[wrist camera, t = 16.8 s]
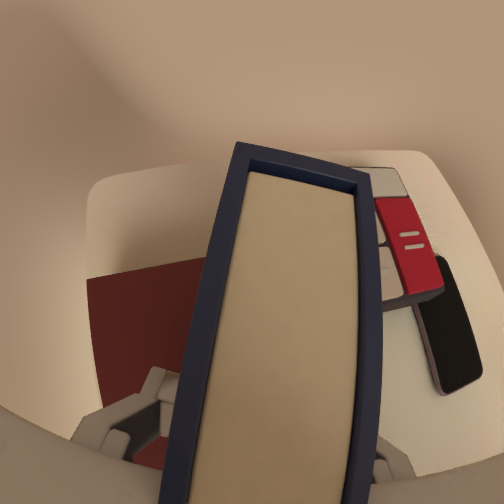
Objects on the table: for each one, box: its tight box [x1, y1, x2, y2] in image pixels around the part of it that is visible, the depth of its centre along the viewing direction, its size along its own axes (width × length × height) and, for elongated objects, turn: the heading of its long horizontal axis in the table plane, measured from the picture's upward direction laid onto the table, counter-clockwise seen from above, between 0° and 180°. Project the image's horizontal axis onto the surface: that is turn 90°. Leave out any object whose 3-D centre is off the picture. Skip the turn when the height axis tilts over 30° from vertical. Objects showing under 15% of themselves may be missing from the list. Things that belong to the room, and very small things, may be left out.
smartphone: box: [413, 256, 483, 396], centre depth 27 cm, size 7×1×15 cm
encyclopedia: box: [86, 257, 206, 471], centre depth 19 cm, size 22×16×4 cm
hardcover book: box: [158, 142, 383, 504], centre depth 10 cm, size 4×13×12 cm, turn 172°
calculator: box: [349, 167, 445, 312], centre depth 29 cm, size 11×4×15 cm
